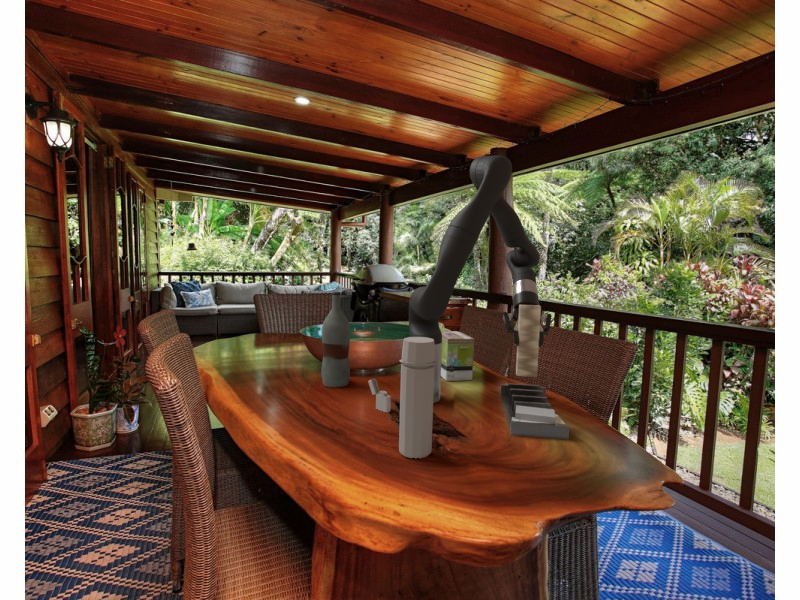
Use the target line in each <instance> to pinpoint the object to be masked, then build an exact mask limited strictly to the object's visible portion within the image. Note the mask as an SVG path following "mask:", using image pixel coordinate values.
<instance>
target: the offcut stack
mask: <svg viewBox="0 0 800 600" xmlns="http://www.w3.org/2000/svg"><path fill="white" fill-rule="evenodd" d="M512 421H518V422H530V423H545V424H559V425H566V423H565V422H564V421H563V420H562V419H561V417H560V416H559V415H558V414H556V413H555V409H553V408H551V409H545V408H536V407H527V406H518V405H516V413H515V417H512Z"/></svg>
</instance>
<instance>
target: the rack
mask: <svg viewBox="0 0 800 600" xmlns="http://www.w3.org/2000/svg"><path fill="white" fill-rule="evenodd" d="M499 395H500V399H501V403H502V406H503V411H504V414H505V419H506V422H507V426H508V429H509V435H510V436H519V437H529V438H530V437H531V438H543V439H555V440H556V439H557V440H569V439H570V425H569V424H565V425H559V424H545V423H530V422H518V421H512V417H515V413H516V405H518V406H527V407H536V408H545V409H552V405H551V403H549V402H548V397H547V396H546V395H547V388H546V386H541V385H540V384H530V383H529V384H528V383H527V384H525V383H511V382H508V384H505V383H504V384H503V383H502V384H500V390H499Z"/></svg>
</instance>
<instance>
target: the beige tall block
mask: <svg viewBox="0 0 800 600" xmlns="http://www.w3.org/2000/svg"><path fill="white" fill-rule="evenodd" d="M541 311H542V306H541V305H540V304H539V305H519V320H518V331H519V345H518V346H516V361H515V362H516V363H515V367H516V368H515V375H516V377H531V378H537V377H538V366H539V364H538V363H539V351H540V350H539V348H540V347H539V332H540V325H541V319H540V314H541V313H542V312H541Z"/></svg>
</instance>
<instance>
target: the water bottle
mask: <svg viewBox="0 0 800 600" xmlns="http://www.w3.org/2000/svg"><path fill="white" fill-rule="evenodd" d="M399 362H400V363H401V364H400V391H399V392H400V396H399V428H398V429H399V431H398V432H399V436H398V437H399V439H398V440H399V441H398V450H399V453H400V455H402V456H403V457H406V458H409V459H412V458H415V459H414V460H419V459H423V458H424V459H425V458H427V457H428V456H429V455H430V454H431V453H432V446H433V444H432V443H433V442H432V441H433V422H434V421H433V417H434V415H433V414H434V403H433V391H434V365H433V364H436V363H437V362H435V345H434V340H433V339H431V338H426V337H411V336H408V337H404V338H403V342H402V351H401V359H399ZM417 458H419V459H417Z"/></svg>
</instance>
